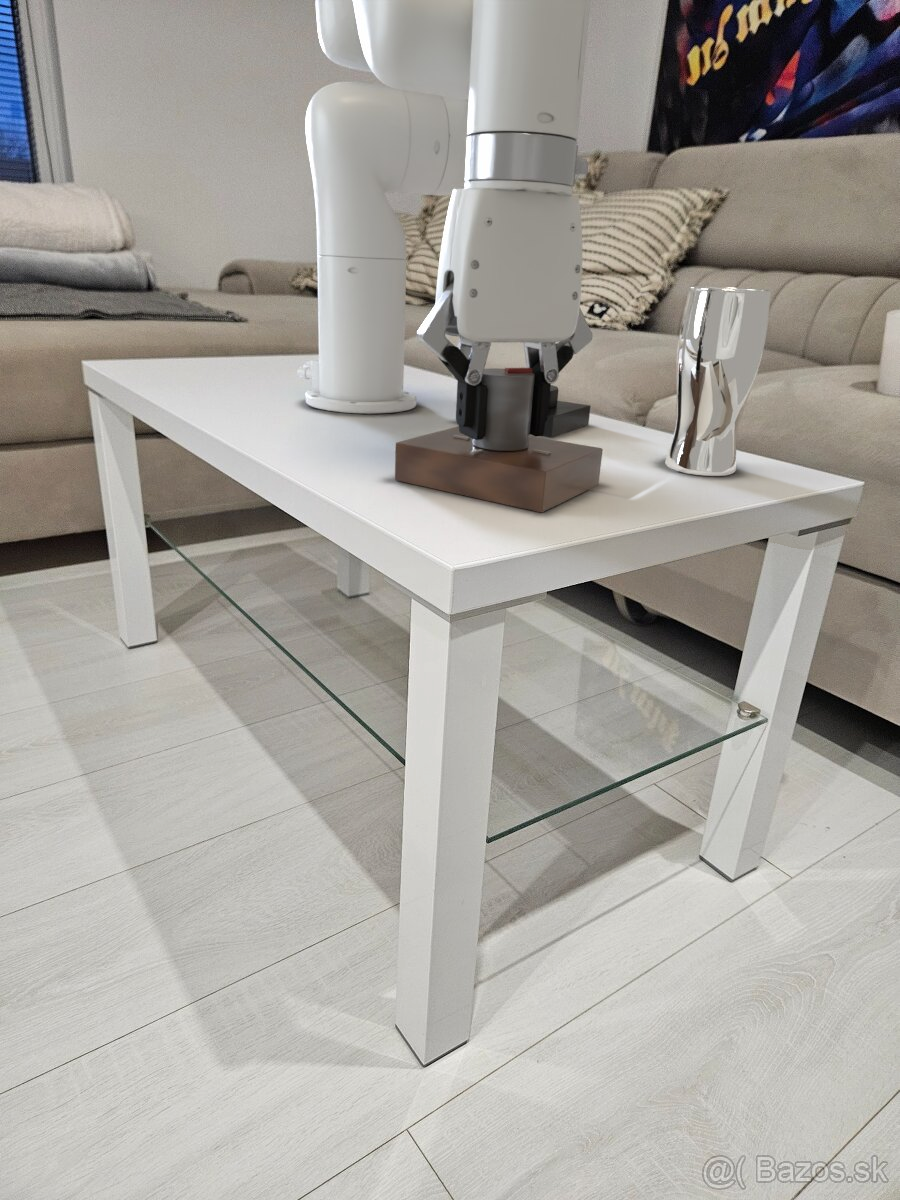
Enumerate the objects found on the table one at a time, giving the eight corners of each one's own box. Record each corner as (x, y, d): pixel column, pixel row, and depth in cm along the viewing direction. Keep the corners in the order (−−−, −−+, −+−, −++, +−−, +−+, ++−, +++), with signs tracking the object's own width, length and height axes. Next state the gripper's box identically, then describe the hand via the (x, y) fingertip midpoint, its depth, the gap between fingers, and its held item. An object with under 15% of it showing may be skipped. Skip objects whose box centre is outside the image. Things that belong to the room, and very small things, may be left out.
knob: (488, 452, 62) (493, 373, 59) (462, 440, 65) (466, 364, 63) (539, 449, 63) (546, 372, 61) (511, 437, 67) (516, 364, 65)
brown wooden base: (394, 480, 65) (395, 440, 64) (462, 458, 73) (464, 422, 71) (541, 513, 58) (546, 469, 57) (598, 485, 66) (603, 446, 65)
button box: (458, 422, 88) (460, 384, 86) (500, 411, 95) (502, 376, 93) (551, 438, 82) (555, 397, 81) (588, 425, 89) (592, 388, 88)
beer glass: (655, 456, 77) (680, 284, 71) (731, 461, 76) (763, 288, 70) (665, 474, 71) (693, 287, 65) (748, 480, 70) (784, 292, 64)
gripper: (590, 182, 63) (566, 420, 71) (385, 163, 57) (381, 429, 64) (652, 177, 57) (618, 439, 64) (430, 155, 50) (420, 451, 57)
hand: (501, 431), depth 64 cm, fingers closed on knob, 4 cm apart
